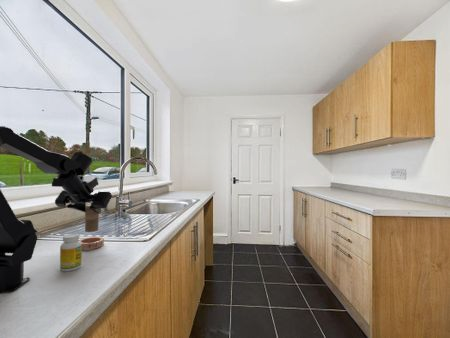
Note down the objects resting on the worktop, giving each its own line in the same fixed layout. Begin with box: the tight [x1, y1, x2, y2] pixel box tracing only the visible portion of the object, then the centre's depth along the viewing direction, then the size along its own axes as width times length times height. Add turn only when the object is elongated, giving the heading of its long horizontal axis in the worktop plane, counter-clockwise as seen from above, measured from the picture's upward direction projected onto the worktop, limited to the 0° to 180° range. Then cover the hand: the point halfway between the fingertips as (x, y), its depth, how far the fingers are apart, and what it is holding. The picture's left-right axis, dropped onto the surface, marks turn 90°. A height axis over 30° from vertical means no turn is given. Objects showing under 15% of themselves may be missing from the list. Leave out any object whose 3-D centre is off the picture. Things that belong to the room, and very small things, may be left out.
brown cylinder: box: [84, 204, 100, 233], centre depth 90 cm, size 4×4×12 cm
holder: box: [78, 236, 105, 251], centre depth 90 cm, size 9×9×2 cm
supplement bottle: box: [59, 233, 83, 272], centre depth 70 cm, size 5×5×10 cm
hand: (94, 212), depth 91 cm, fingers closed on brown cylinder, 4 cm apart
